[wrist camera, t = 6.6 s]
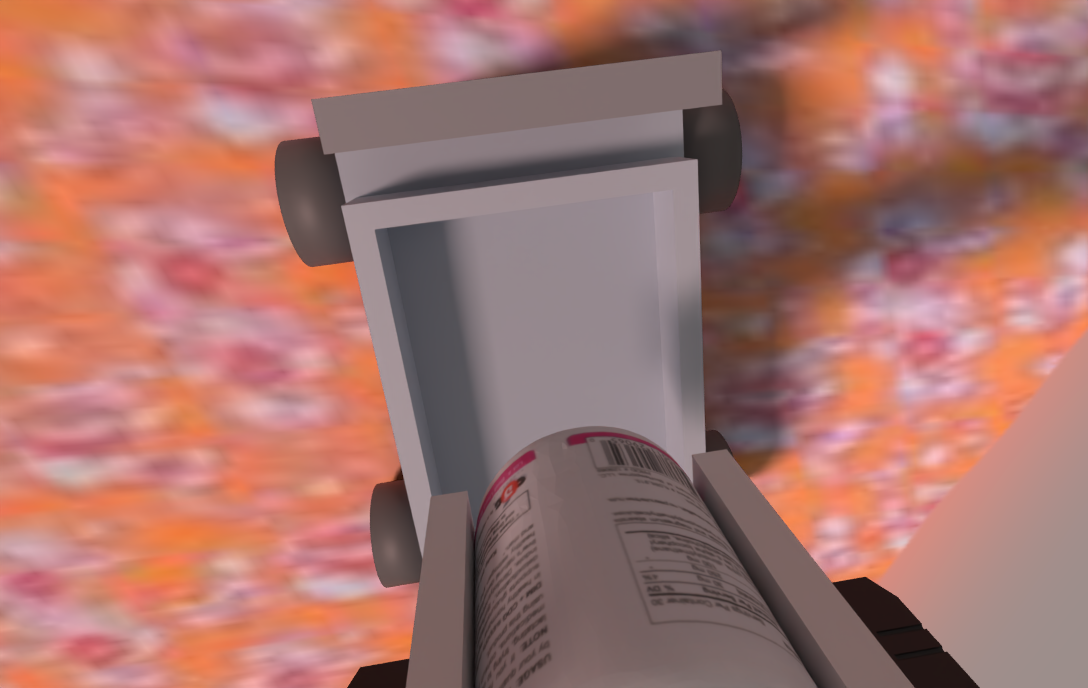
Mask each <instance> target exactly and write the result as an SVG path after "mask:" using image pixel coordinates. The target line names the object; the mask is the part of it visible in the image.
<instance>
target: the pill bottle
mask: <svg viewBox="0 0 1088 688" xmlns="http://www.w3.org/2000/svg"><path fill="white" fill-rule="evenodd" d="M475 688H817V686H816V684H815V683H814V681H813V679H812V678H811V676H810V675H809V673H808V672H807V670H806V668H805V667H804V665H803V663H802V661H801V660H800V658H799V656H798V655H797V653H796V652H795V650H794V649H793V647H792V645H791V644H790V642H789V640H788V638H787V637H786V635H785V634H784V632H783V630H782V629H781V627H780V626H779V624H778V622H777V621H776V619H775V617H774V616H773V614H772V612H771V611H770V609H769V607H768V606H767V604H766V602H765V601H764V599H763V598H762V596H761V594H760V593H759V591H758V590H757V588H756V586H755V585H754V583H753V582H752V580H751V578H750V576H749V575H748V573H747V571H746V570H745V568H744V567H743V565H742V564H741V562H740V560H739V559H738V557H737V555H736V553H735V552H734V550H733V549H732V547H731V545H730V544H729V542H728V540H727V539H726V537H725V536H724V534H723V532H722V530H721V529H720V528H719V526H718V525H717V523H716V521H715V520H714V518H713V516H712V515H711V513H710V511H709V510H708V508H707V507H706V505H705V503H704V502H703V500H702V498H701V497H700V495H699V494H698V492H697V490H696V489H695V487H694V486H693V484H692V482H691V481H690V479H689V477H688V476H687V475H686V473H685V472H684V471H683V469H682V468H681V467H680V466H679V464H678V463H677V462H676V461H675V460H674V459H673V458H672V456H671V455H670V454H668V453H667V452H666V451H665V450H664V449H663V448H661V447H660V446H659V445H657V444H656V443H654V442H653V441H651V440H649V439H647V438H646V437H644V436H641V435H639V434H637V433H634V432H631V431H628V430H625V429H621V428H615V427H607V426H586V427H578V428H572V429H567V430H563V431H559V432H556V433H553V434H550V435H548V436H545V437H543V438H541V439H538V440H536V441H535V442H533V443H531V444H530V445H528V446H526V447H525V448H523V449H522V450H520V451H519V452H518V453H517V454H516V455H514V456H513V457H512V458H511V459H510V460H509V461H508V462H507V463H506V464H505V465H504V466H503V467H502V468H501V469H500V471H499V472H498V473H497V474H496V476H495V477H494V479H493V480H492V481H491V483H490V485H489V487H488V488H487V490H486V493H485V495H484V497H483V500H482V503H481V505H480V509H479V514H478V519H477V524H476V531H475Z"/></svg>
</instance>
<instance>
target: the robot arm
mask: <svg viewBox="0 0 1088 688" xmlns="http://www.w3.org/2000/svg"><path fill="white" fill-rule="evenodd" d="M692 471H693V486H694V487H695V489H696V490H697V492H698V494H699V495H700V497H701V498H702V500H703V502H704V503H705V505H706V507H707V508H708V510H709V511H710V513H711V515H712V516H713V518H714V520H715V521H716V523H717V525H718V526H719V528H720V529H721V530H722V532H723V534H724V536H725V537H726V539H727V540H728V542H729V544H730V545H731V547H732V549H733V550H734V552H735V553H736V555H737V557H738V559H739V560H740V562H741V564H742V565H743V567H744V568H745V570H746V571H747V573H748V575H749V576H750V578H751V580H752V582H753V583H754V585H755V586H756V588H757V590H758V591H759V593H760V594H761V596H762V598H763V599H764V601H765V602H766V604H767V606H768V607H769V609H770V611H771V612H772V614H773V616H774V617H775V619H776V621H777V622H778V624H779V626H780V627H781V629H782V630H783V632H784V634H785V635H786V637H787V638H788V640H789V642H790V644H791V645H792V647H793V649H794V650H795V652H796V653H797V655H798V656H799V658H800V660H801V661H802V663H803V665H804V667H805V668H806V670H807V672H808V673H809V675H810V676H811V678H812V679H813V681H814V683H815V684H816V686H817V688H979V687H978V685H977V684H976V683H975V682H974V681H973V680H972V679H971V678H970V676H969V675H968V674H967V673H966V672H965V671H964V670H963V669H962V668H961V667H960V665H959V664H958V663H957V662H956V661H955V660H954V659H953V658H952V657H951V656H950V654H949V653H948V652H944V651H943V649H942V646H941V645H940V643H939V642H938V641H937V640H936V639H935V638H934V637H933V636H932V635H931V634H930V632H929V631H928V630H927V629H923V627H922V623H920V621H919V620H918V619H917V618H916V617H915V616H914V615H913V614H912V612H911V611H910V610H909V609H908V608H907V607H906V606H905V605H904V604H903V603H902V602H901V600H900V599H899V598H898V597H897V596H895V595H893V594H892V593H890V592H889V591H887V590H885V589H884V588H882V587H881V586H879V585H878V584H876V583H874V582H873V581H871V580H870V579H868V578H867V577H862V578H856V579H850V580H845V581H839V582H833V583H832V582H831V581H830V580H829V578H828V577H827V576H826V575H825V573H824V572H823V571H822V570H821V568H820V567H819V566H818V565H817V563H816V562H815V561H814V559H813V558H812V557H811V556H810V554H809V553H808V552H807V551H806V549H805V548H804V547H803V545H802V544H801V543H800V542H799V540H798V539H797V538H796V537H795V535H794V534H793V533H792V532H791V530H790V529H789V528H788V526H787V525H786V524H785V523H784V521H783V520H782V519H781V518H780V516H779V515H778V514H777V512H776V511H775V510H774V509H773V507H772V506H771V505H770V504H769V502H768V501H767V500H766V499H765V497H764V496H763V495H762V493H761V492H760V491H759V490H758V488H757V487H756V486H755V485H754V483H753V482H752V481H751V480H750V478H749V477H748V476H747V474H746V473H745V472H744V471H743V469H742V468H741V467H740V466H739V464H738V463H737V462H736V460H735V459H734V458H733V457H732V455H731V454H730V453H729V452H728V450H727V449H725V450H718V451H712V452H706V453H700V454H693V455H692ZM347 688H475V529H474V524H473V518H472V513H471V508H470V503H469V497H468V492H467V491H462V492H456V493H450V494H443V495H437V496H431V498H430V506H429V513H428V521H427V529H426V536H425V544H424V552H423V559H422V567H421V575H420V582H419V590H418V598H417V605H416V613H415V621H414V628H413V636H412V644H411V651H410V659H405V660H399V661H394V662H388V663H382V664H377V665H371V666H365V667H360V669H359V670H358V672H357V673H356V675H355V676H354V678H353V680H352V681H351V683H350V684H349V686H348V687H347Z"/></svg>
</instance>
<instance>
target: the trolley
mask: <svg viewBox="0 0 1088 688" xmlns="http://www.w3.org/2000/svg"><path fill="white" fill-rule="evenodd" d="M311 101H312V105H313V109H314V114H315V118H316V122H317V127H318V131H319V135H320V137H313V138H305V139H297V140H289V141H283V142H281V143H280V144H279V145H278V147H277V150H276V155H275V180H276V188H277V195H278V200H279V205H280V209H281V213H282V216H283V220H284V223H285V226H286V229H287V232H288V235H289V237H290V240H291V242H292V244H293V246H294V248H295V250H296V252H297V254H298V255H299V257H300V258H301V259H302V261H303V262H304V263H305V264H306V265H308V266H310V267H315V266H322V265H330V264H337V263H344V262H352V261H354V264H355V269H356V273H357V277H358V282H359V286H360V290H361V295H362V299H363V303H364V308H365V312H366V316H367V321H368V325H369V329H370V334H371V338H372V342H373V347H374V351H375V355H376V360H377V364H378V368H379V373H380V377H381V381H382V386H383V390H384V394H385V399H386V403H387V407H388V412H389V416H390V420H391V425H392V429H393V434H394V438H395V442H396V447H397V451H398V455H399V460H400V464H401V468H402V473H403V477H404V480H398V481H392V482H386V483H380V484H377V485H376V486H375V488H374V490H373V494H372V499H371V507H370V534H371V544H372V552H373V558H374V563H375V567H376V571H377V574H378V577H379V579H380V581H381V583H382V585H383V586H384V587H386V588H388V587H394V586H400V585H405V584H411V583H417V582H420V575H421V567H422V559H423V552H424V544H425V536H426V529H427V521H428V513H429V506H430V498H431V496H437V495H443V494H450V493H456V492H462V491H467V492H468V497H469V503H470V508H471V513H472V518H473V524H474V529H475V531H476V524H477V519H478V514H479V509H480V505H481V503H482V500H483V497H484V495H485V493H486V490H487V488H488V487H489V485H490V483H491V481H492V480H493V479H494V477H495V476H496V474H497V473H498V472H499V471H500V469H501V468H502V467H503V466H504V465H505V464H506V463H507V462H508V461H509V460H510V459H511V458H512V457H513V456H514V455H516V454H517V453H518V452H519V451H520V450H522V449H523V448H525V447H526V446H528V445H530V444H531V443H533V442H535V441H536V440H538V439H541V438H543V437H545V436H548V435H550V434H553V433H556V432H559V431H563V430H567V429H572V428H578V427H586V426H607V427H615V428H621V429H625V430H628V431H631V432H634V433H637V434H639V435H641V436H644V437H646V438H647V439H649V440H651V441H653V442H654V443H656V444H657V445H659V446H660V447H661V448H663V449H664V450H665V451H666V452H667V453H668V454H670V455H671V456H672V458H673V459H674V460H675V461H676V462H677V463H678V464H679V466H680V467H681V468H682V469H683V471H684V472H685V473H686V475H687V476H688V477H689V479H690V481H691V482H692V484H693V471H692V455H693V454H700V453H706V452H712V451H718V450H725V449H727V450H728V452H729V453H730V454H731V455H732V452H731V450H730V448H729V446H728V444H727V442H726V441H725V439H724V438H723V436H722V435H721V434H720V433H719V432H718V431H716V430H711V431H705V409H704V373H703V337H702V301H701V265H700V229H699V214H702V213H710V212H717V211H723V210H726V209H727V208H728V207H729V206H730V205H731V203H732V202H733V200H734V198H735V195H736V193H737V189H738V186H739V181H740V175H741V166H742V141H741V131H740V125H739V120H738V116H737V112H736V109H735V106H734V104H733V102H732V99H731V98H730V96H729V94H728V93H727V92H726V91H725V90H724V89H722V54H721V50H720V51H711V52H703V53H695V54H686V55H678V56H670V57H661V58H653V59H645V60H636V61H628V62H620V63H611V64H603V65H595V66H586V67H578V68H570V69H561V70H553V71H545V72H536V73H528V74H520V75H511V76H503V77H495V78H486V79H478V80H470V81H461V82H453V83H445V84H436V85H428V86H420V87H411V88H403V89H395V90H386V91H378V92H370V93H361V94H353V95H345V96H336V97H328V98H320V99H311ZM732 457H733V455H732ZM733 458H734V457H733Z"/></svg>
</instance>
